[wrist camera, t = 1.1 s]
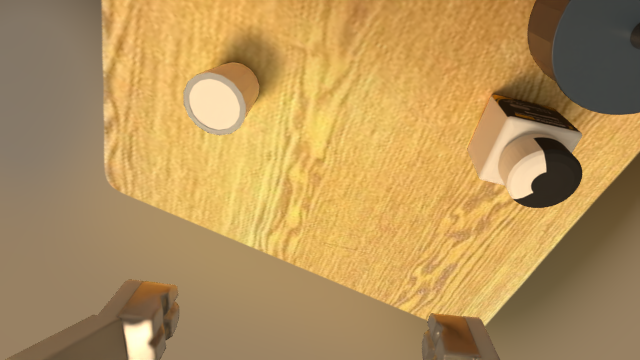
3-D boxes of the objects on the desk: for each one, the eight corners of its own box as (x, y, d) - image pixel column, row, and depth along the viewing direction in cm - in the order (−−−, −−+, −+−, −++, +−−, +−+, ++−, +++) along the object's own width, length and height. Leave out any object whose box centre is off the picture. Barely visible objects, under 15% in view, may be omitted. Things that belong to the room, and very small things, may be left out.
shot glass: (276, 86, 44) (258, 107, 38) (241, 123, 48) (221, 147, 42) (231, 43, 43) (205, 58, 37) (198, 84, 46) (170, 104, 40)
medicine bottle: (555, 107, 41) (611, 158, 31) (524, 163, 45) (565, 225, 34) (491, 93, 41) (525, 138, 31) (465, 149, 45) (489, 207, 35)
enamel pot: (551, -60, 34) (589, -63, 27) (705, -57, 32) (784, -60, 26) (512, 78, 40) (535, 102, 34) (638, 86, 38) (688, 112, 32)
